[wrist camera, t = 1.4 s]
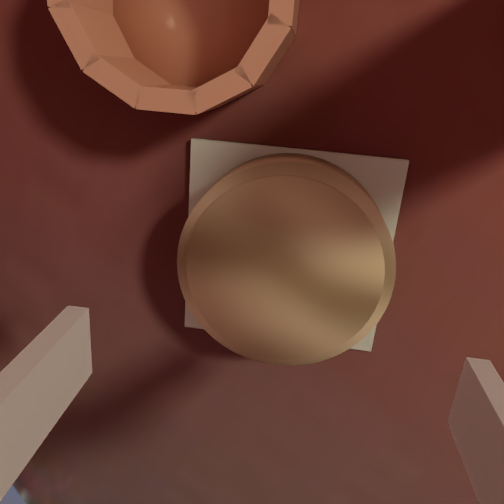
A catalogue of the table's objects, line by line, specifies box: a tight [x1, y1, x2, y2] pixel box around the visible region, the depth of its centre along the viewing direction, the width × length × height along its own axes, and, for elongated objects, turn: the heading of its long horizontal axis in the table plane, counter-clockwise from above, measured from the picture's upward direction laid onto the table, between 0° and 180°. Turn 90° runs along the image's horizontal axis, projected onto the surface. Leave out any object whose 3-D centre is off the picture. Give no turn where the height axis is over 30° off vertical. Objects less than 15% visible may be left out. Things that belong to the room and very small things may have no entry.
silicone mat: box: [185, 138, 409, 351], centre depth 28 cm, size 12×12×1 cm
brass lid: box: [177, 153, 396, 366], centre depth 26 cm, size 12×12×4 cm
